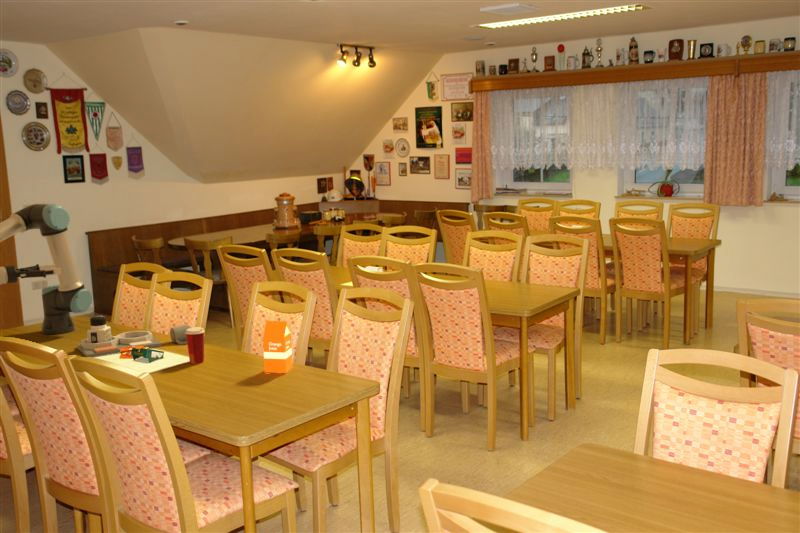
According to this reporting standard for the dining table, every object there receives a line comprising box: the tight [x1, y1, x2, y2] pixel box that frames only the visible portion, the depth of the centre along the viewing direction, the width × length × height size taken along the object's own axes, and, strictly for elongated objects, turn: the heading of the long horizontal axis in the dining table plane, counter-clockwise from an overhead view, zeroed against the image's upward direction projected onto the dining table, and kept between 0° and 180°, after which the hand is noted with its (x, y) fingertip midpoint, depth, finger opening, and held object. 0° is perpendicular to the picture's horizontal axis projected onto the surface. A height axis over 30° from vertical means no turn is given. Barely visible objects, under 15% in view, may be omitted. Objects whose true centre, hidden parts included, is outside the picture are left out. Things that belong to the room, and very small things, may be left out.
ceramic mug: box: [169, 323, 191, 346], centre depth 352 cm, size 11×8×8 cm
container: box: [86, 315, 112, 343], centre depth 344 cm, size 8×8×13 cm
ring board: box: [76, 330, 163, 358], centre depth 347 cm, size 22×32×4 cm
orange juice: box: [262, 320, 293, 373], centre depth 301 cm, size 8×9×20 cm
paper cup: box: [185, 326, 206, 365], centre depth 317 cm, size 8×8×14 cm
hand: (58, 268), depth 347 cm, fingers open, 13 cm apart
